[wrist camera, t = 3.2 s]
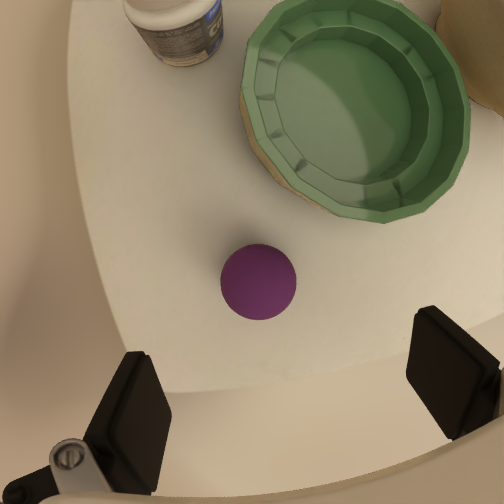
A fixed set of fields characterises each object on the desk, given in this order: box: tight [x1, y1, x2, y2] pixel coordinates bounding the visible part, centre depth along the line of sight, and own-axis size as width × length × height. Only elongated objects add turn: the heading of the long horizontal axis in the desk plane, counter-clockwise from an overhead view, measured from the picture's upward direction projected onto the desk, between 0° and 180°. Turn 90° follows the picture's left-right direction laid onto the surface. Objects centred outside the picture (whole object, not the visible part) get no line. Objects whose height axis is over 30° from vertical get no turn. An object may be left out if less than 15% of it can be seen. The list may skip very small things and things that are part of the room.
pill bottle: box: [123, 0, 223, 66], centre depth 11 cm, size 5×5×8 cm
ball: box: [221, 244, 296, 320], centre depth 18 cm, size 4×4×4 cm
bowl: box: [239, 0, 471, 224], centre depth 15 cm, size 13×13×5 cm
